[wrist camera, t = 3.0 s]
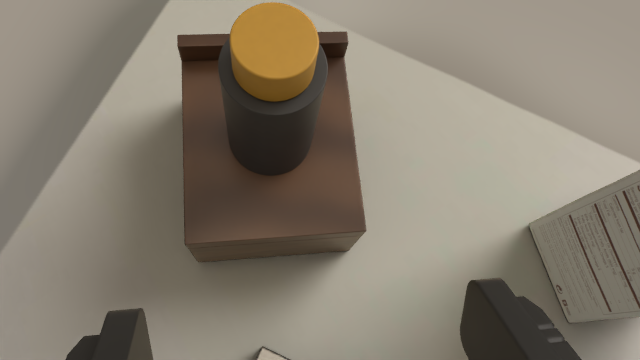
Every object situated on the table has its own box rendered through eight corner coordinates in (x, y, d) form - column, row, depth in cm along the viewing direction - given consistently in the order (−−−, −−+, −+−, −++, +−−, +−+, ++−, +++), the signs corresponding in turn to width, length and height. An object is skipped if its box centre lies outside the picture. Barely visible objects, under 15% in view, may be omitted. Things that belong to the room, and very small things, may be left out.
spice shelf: (349, 250, 34) (372, 224, 27) (197, 262, 33) (180, 238, 26) (330, 91, 38) (347, 31, 31) (193, 96, 37) (177, 34, 30)
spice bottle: (248, 188, 29) (242, 110, 19) (216, 117, 30) (195, 10, 21) (324, 157, 30) (354, 68, 20) (290, 89, 31) (303, -25, 22)
